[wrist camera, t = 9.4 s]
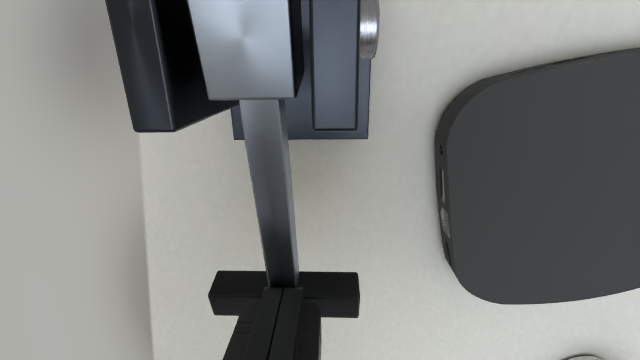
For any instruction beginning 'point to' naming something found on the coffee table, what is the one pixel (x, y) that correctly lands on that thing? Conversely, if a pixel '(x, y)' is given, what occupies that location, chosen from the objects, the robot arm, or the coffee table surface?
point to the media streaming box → (544, 181)
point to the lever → (264, 142)
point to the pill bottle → (585, 358)
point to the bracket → (193, 106)
